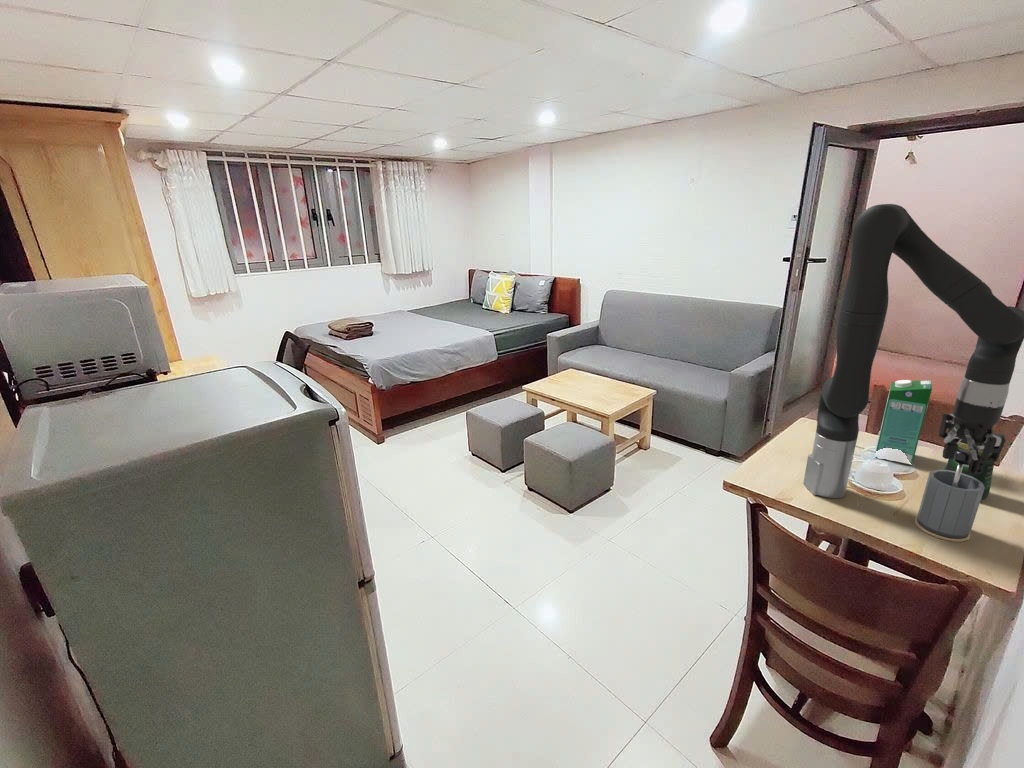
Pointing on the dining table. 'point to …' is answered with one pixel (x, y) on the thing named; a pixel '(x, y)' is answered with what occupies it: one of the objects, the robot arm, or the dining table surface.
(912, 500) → the dining table surface
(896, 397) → the milk carton
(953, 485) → the plunger
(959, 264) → the robot arm
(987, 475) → the coffee jar
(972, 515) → the press carafe
